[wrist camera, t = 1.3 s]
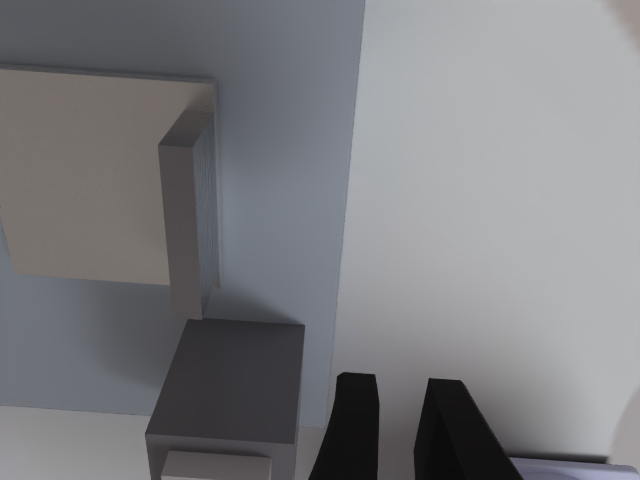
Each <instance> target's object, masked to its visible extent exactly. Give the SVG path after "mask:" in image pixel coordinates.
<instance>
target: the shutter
mask: <svg viewBox="0 0 640 480" xmlns="http://www.w3.org/2000/svg"><path fill="white" fill-rule="evenodd" d="M0 217H1V221H2V225H3V229H4V232H5V236H6V240H7V244H8V248H9V252H10V256H11V260H12V264H13V268H14V272H15V274H18V275H32V276H46V277H60V278H74V279H89V280H103V281H117V282H131V283H145V284H159V285H170V290H171V301H172V313H173V318H182V319H196V320H202V319H203V316H204V313H205V310H206V307H207V304H208V301H209V298H210V295H211V292H212V290H213V288H215V289H220V287H221V284H222V281H223V266H222V234H221V202H220V169H219V137H218V105H217V79H208V78H194V77H180V76H166V75H152V74H138V73H124V72H109V71H95V70H81V69H67V68H53V67H39V66H25V65H11V64H0Z"/></svg>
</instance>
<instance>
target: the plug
mask: <svg viewBox="0 0 640 480" xmlns="http://www.w3.org/2000/svg"><path fill="white" fill-rule="evenodd" d="M304 339H305V325H296V324H282V323H268V322H253V321H239V320H225V319H211V318H203V319H202V320H196V319H188V320H187V322H186V325H185V328H184V330H183V333H182V336H181V338H180V341H179V344H178V346H177V349H176V352H175V354H174V357H173V360H172V363H171V365H170V368H169V371H168V373H167V376H166V379H165V381H164V384H163V387H162V389H161V392H160V395H159V397H158V400H157V403H156V406H155V408H154V411H153V414H152V416H151V419H150V422H149V424H148V427H147V430H146V432H145V438H146V445H147V452H148V459H149V467H150V474H151V480H294V475H295V463H296V452H297V440H298V429H299V417H300V405H301V389H302V372H303V356H304Z"/></svg>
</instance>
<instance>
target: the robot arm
mask: <svg viewBox="0 0 640 480" xmlns="http://www.w3.org/2000/svg"><path fill="white" fill-rule="evenodd" d="M378 439H379V397H378V389H377V383H376V377H375V374H362V373H348V372H343V373H341V374H340V375H338V376H337V383H336V392H335V401H334V405H333V410H332V414H331V417H330V421H329V424H328V428H327V431H326V434H325V437H324V439H323V442H322V445H321V448H320V451H319V454H318V456H317V459H316V462H315V464H314V467H313V470H312V472H311V474H310V476H309V479H308V480H377V470H378ZM414 466H415V480H640V476H639V474H638V472H637V470H636V468H634V467H631V466H625V465H611V464H596V463H582V462H568V461H554V460H540V459H526V458H512V457H508V455H507V454H506V452H505V451H504V449H503V448H502V446H501V445H500V443H499V441H498V440H497V438H496V437H495V435H494V433H493V432H492V430H491V429H490V427H489V425H488V424H487V422H486V420H485V419H484V417H483V415H482V414H481V412H480V410H479V409H478V407H477V405H476V404H475V402H474V400H473V398H472V397H471V395H470V393H469V391H468V390H467V388H466V386H465V385H464V384H463V382H462V381H461V380H447V379H433V378H429V381H428V385H427V390H426V395H425V399H424V404H423V409H422V413H421V418H420V423H419V427H418V432H417V437H416V441H415V446H414Z"/></svg>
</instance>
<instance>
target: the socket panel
mask: <svg viewBox="0 0 640 480" xmlns="http://www.w3.org/2000/svg"><path fill="white" fill-rule="evenodd" d="M364 10H365V0H0V64H11V65H25V66H39V67H53V68H67V69H81V70H95V71H109V72H124V73H138V74H152V75H166V76H180V77H194V78H208V79H217V105H218V137H219V169H220V202H221V234H222V266H223V281H222V284H221V287H220V289H215V288H213V290H212V292H211V295H210V298H209V301H208V304H207V307H206V310H205V313H204V316H203V318H211V319H225V320H239V321H253V322H268V323H282V324H296V325H305V339H304V356H303V372H302V389H301V405H300V417H299V427H313V428H325V424H326V413H327V402H328V392H329V381H330V371H331V360H332V349H333V339H334V328H335V317H336V307H337V296H338V286H339V275H340V264H341V254H342V243H343V233H344V222H345V211H346V201H347V190H348V180H349V169H350V158H351V148H352V137H353V126H354V116H355V105H356V95H357V84H358V73H359V63H360V52H361V42H362V31H363V20H364ZM187 320H188V319H182V318H173V313H172V301H171V290H170V285H159V284H145V283H131V282H117V281H103V280H89V279H74V278H60V277H46V276H32V275H18V274H15V272H14V268H13V264H12V260H11V256H10V252H9V248H8V244H7V240H6V236H5V232H4V229H3V225H2V221H1V217H0V405H4V406H18V407H32V408H46V409H60V410H74V411H88V412H102V413H116V414H130V415H144V416H152V414H153V411H154V408H155V406H156V403H157V400H158V397H159V395H160V392H161V389H162V387H163V384H164V381H165V379H166V376H167V373H168V371H169V368H170V365H171V363H172V360H173V357H174V354H175V352H176V349H177V346H178V344H179V341H180V338H181V336H182V333H183V330H184V328H185V325H186V322H187Z"/></svg>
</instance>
